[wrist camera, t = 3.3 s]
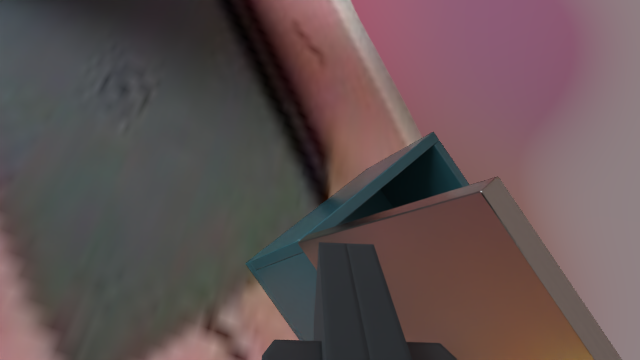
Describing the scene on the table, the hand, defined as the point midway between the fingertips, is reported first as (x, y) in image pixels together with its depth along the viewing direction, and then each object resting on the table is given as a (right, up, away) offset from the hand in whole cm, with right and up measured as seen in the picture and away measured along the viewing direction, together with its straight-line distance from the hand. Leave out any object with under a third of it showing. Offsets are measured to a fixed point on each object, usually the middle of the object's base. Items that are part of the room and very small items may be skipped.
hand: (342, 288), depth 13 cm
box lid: (+5, -4, +7) cm, 10 cm away
